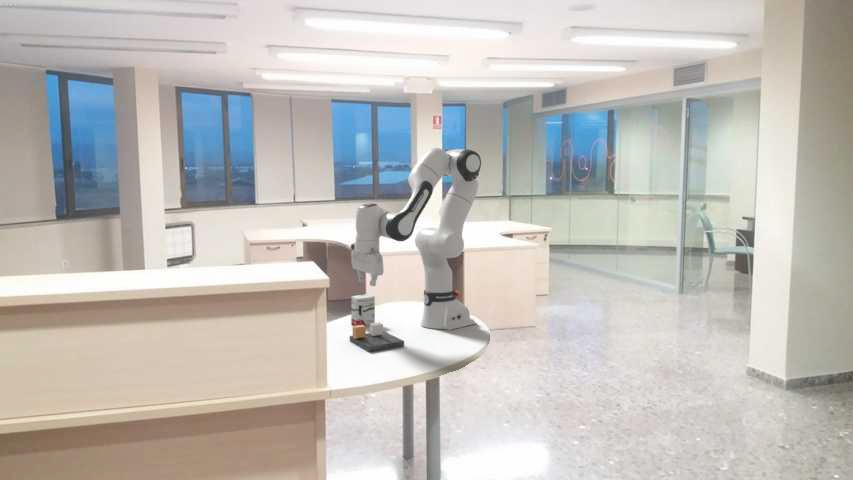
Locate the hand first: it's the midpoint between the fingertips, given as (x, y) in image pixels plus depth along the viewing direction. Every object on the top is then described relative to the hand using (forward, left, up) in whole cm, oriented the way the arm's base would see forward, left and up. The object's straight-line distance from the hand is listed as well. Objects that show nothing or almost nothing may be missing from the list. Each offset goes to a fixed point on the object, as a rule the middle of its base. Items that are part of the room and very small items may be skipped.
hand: (367, 283), depth 243 cm
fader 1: (+7, +7, -18) cm, 20 cm away
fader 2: (0, +7, -18) cm, 19 cm away
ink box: (-6, -17, -20) cm, 27 cm away
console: (+2, +11, -20) cm, 23 cm away
